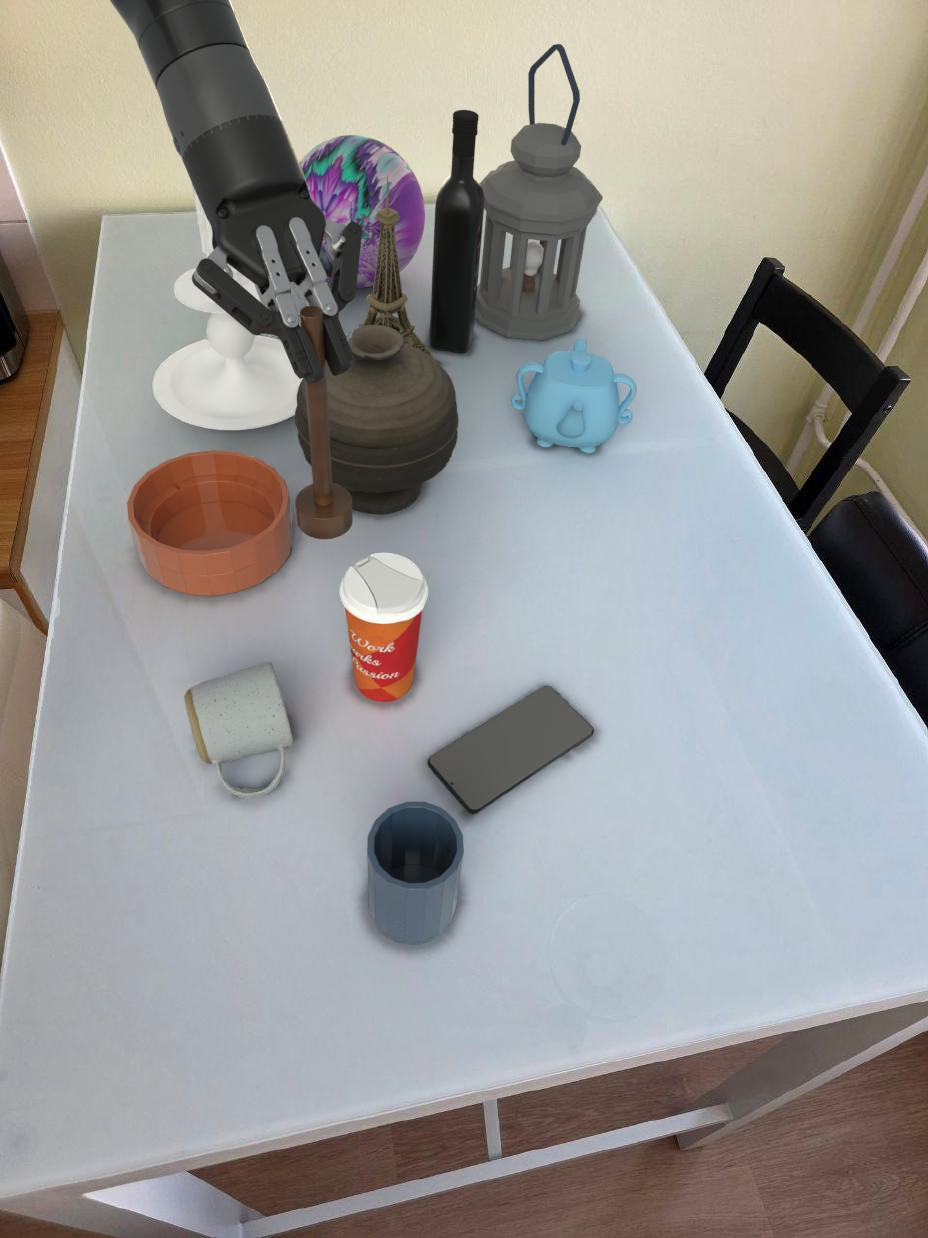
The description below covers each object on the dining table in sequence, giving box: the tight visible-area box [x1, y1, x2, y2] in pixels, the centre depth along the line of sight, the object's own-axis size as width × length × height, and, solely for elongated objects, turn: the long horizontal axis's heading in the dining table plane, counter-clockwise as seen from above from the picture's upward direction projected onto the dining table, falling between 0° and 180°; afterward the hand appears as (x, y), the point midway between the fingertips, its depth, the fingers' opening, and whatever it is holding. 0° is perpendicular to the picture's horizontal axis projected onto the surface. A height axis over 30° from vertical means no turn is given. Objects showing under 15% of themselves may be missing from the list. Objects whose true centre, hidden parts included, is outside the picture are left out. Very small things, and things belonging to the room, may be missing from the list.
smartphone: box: [427, 685, 595, 815], centre depth 84 cm, size 7×1×15 cm
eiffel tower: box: [358, 176, 443, 366], centre depth 115 cm, size 11×11×25 cm
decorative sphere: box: [299, 134, 426, 289], centre depth 131 cm, size 20×20×20 cm
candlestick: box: [151, 183, 303, 431], centre depth 107 cm, size 21×25×28 cm
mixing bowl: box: [126, 449, 294, 597], centre depth 97 cm, size 16×16×6 cm
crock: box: [366, 801, 465, 946], centre depth 70 cm, size 7×7×10 cm
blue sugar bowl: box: [510, 337, 638, 454], centre depth 112 cm, size 13×14×11 cm
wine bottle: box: [428, 109, 485, 354], centre depth 118 cm, size 6×6×30 cm
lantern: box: [475, 43, 604, 341], centre depth 123 cm, size 17×17×35 cm
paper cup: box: [338, 552, 429, 703], centre depth 83 cm, size 8×8×14 cm
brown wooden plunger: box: [294, 306, 354, 540], centre depth 72 cm, size 5×5×20 cm
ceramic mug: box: [184, 661, 294, 799], centre depth 79 cm, size 11×8×8 cm
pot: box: [294, 325, 459, 516], centre depth 100 cm, size 18×18×20 cm
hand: (329, 375), depth 67 cm, fingers closed on brown wooden plunger
